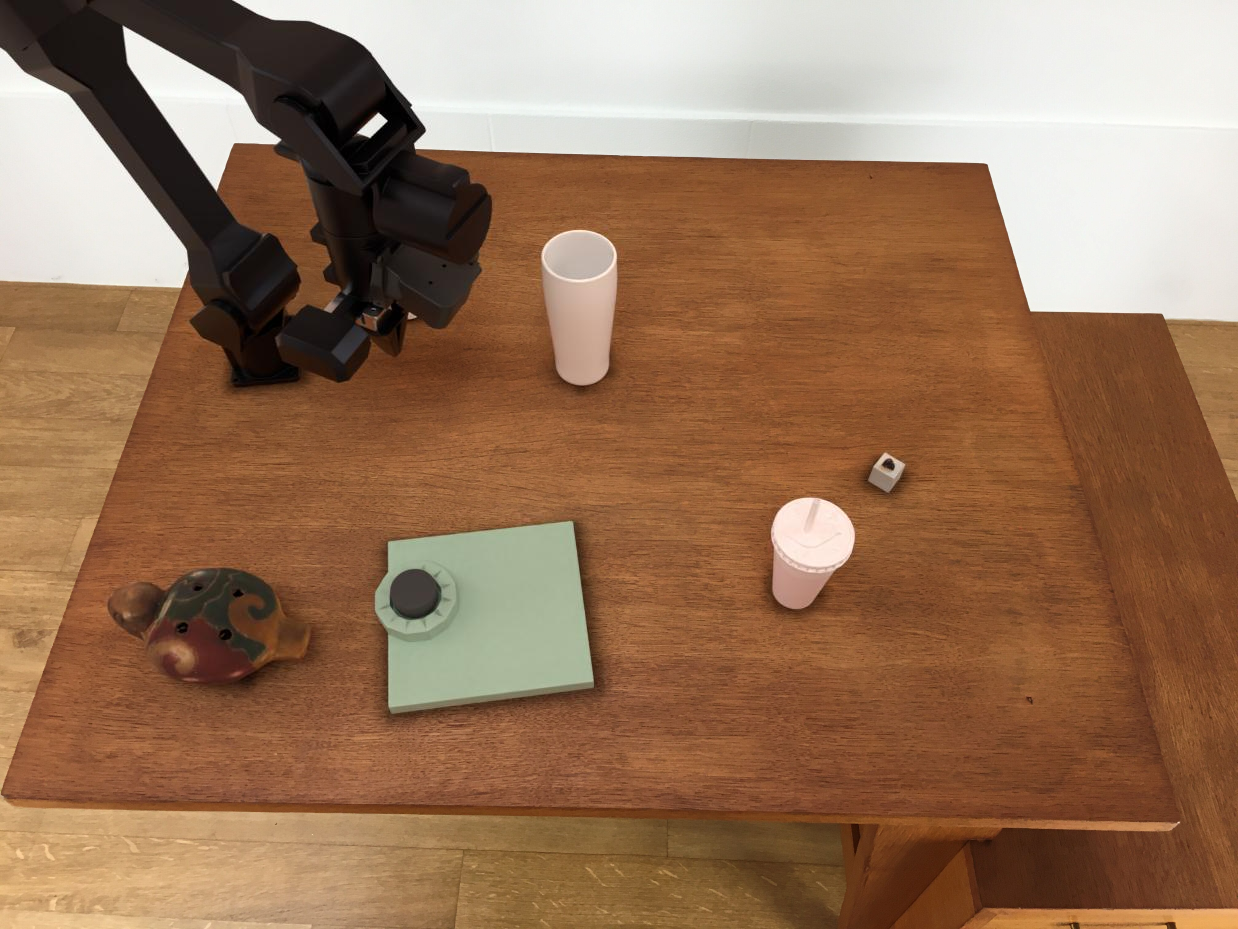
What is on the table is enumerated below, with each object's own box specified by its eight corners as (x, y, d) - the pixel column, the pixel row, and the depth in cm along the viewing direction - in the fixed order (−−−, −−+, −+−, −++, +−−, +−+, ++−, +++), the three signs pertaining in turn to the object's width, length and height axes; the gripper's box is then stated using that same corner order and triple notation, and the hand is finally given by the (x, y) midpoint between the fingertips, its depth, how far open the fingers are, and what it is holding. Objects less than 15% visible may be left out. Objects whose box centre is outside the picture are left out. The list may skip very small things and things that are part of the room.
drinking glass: (608, 399, 94) (609, 287, 82) (541, 388, 95) (531, 275, 82) (622, 348, 98) (624, 234, 86) (557, 337, 99) (550, 223, 86)
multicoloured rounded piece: (150, 592, 81) (120, 540, 75) (332, 604, 82) (316, 553, 76) (110, 700, 75) (73, 653, 69) (306, 712, 76) (287, 666, 70)
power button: (393, 621, 77) (389, 611, 76) (393, 581, 79) (389, 571, 78) (439, 615, 78) (436, 605, 76) (437, 576, 80) (434, 566, 78)
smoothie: (750, 559, 84) (773, 467, 72) (823, 554, 84) (857, 462, 73) (763, 626, 80) (789, 541, 69) (839, 621, 81) (877, 535, 69)
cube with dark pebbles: (867, 481, 89) (873, 465, 87) (879, 466, 90) (885, 450, 88) (888, 493, 88) (895, 477, 86) (899, 478, 89) (906, 462, 87)
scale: (381, 715, 76) (374, 701, 73) (382, 550, 84) (375, 532, 82) (594, 688, 77) (593, 673, 75) (573, 528, 86) (572, 510, 83)
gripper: (381, 331, 64) (417, 465, 77) (513, 169, 74) (526, 311, 87) (244, 280, 67) (301, 417, 80) (390, 130, 77) (419, 274, 90)
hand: (394, 353), depth 84 cm, fingers closed
